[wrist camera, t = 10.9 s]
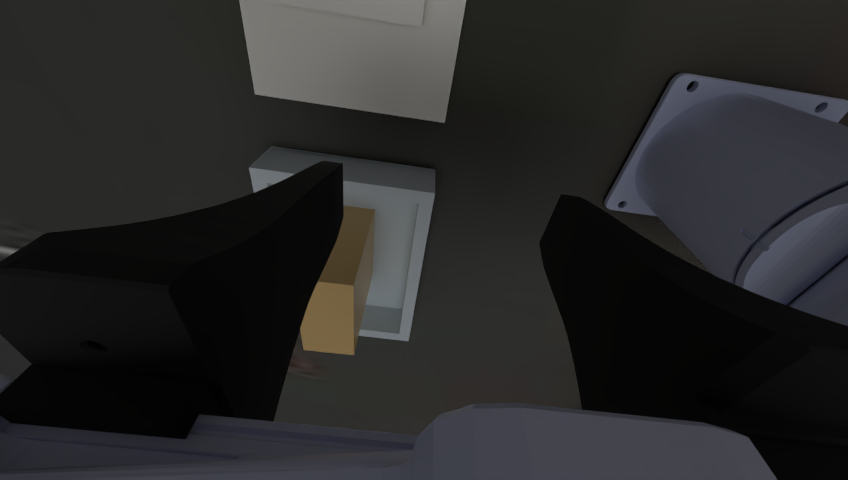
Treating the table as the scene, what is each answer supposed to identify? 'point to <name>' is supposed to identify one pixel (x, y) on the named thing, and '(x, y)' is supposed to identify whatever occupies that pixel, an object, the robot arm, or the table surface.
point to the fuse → (342, 287)
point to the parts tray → (393, 232)
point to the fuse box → (356, 53)
